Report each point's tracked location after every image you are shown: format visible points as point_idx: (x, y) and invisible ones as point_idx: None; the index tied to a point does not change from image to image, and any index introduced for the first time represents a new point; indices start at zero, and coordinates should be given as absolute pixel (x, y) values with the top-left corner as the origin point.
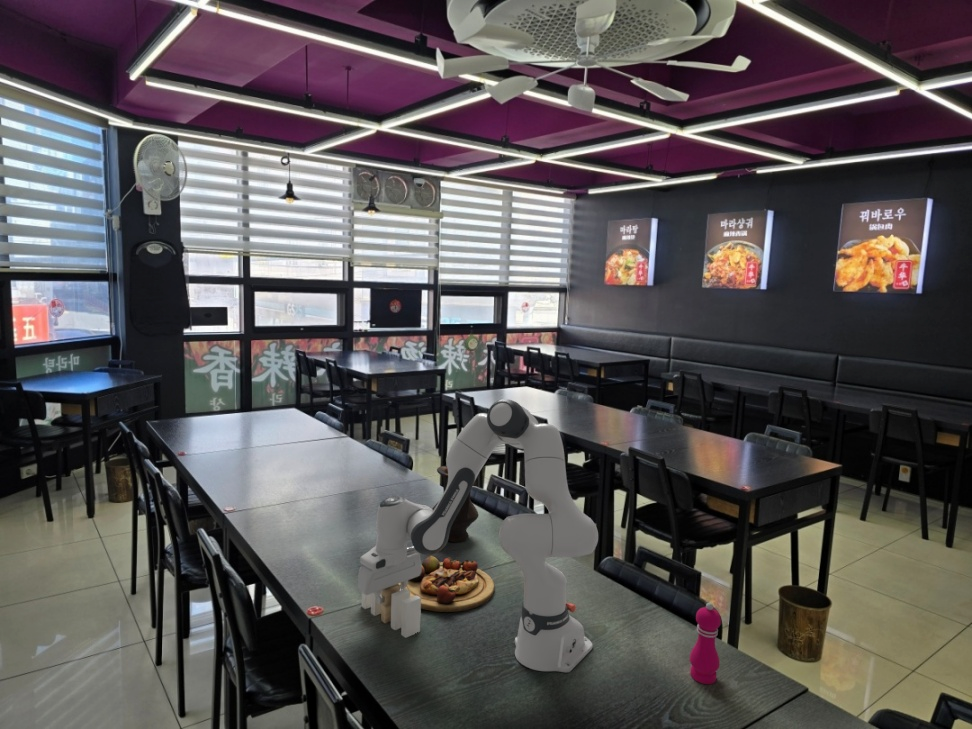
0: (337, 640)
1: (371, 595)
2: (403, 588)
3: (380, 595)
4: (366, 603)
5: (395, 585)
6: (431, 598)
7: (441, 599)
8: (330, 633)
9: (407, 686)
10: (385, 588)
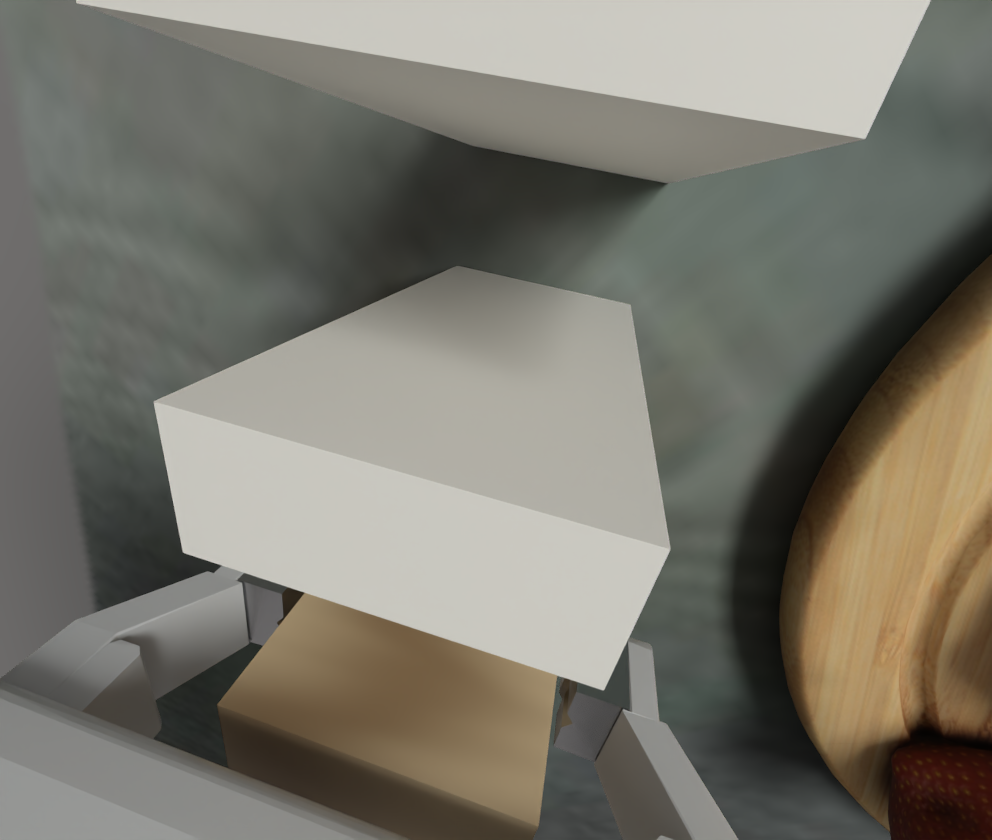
0: (73, 346)
1: (367, 312)
2: (606, 796)
3: (271, 603)
4: (471, 142)
5: (450, 837)
6: (968, 677)
7: (897, 825)
8: (50, 232)
9: (213, 753)
10: (260, 752)
